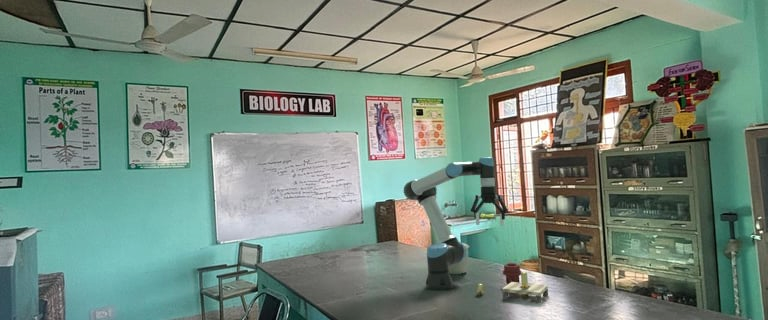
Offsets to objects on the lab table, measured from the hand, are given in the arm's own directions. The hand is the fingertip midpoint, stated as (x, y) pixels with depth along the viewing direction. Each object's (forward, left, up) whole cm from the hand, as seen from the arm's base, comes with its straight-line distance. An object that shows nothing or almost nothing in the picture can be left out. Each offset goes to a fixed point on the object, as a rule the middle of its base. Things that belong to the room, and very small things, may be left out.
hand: (489, 225), depth 229 cm
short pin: (-3, -12, -34) cm, 36 cm away
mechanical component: (+7, +9, -34) cm, 36 cm away
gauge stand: (+19, -8, -34) cm, 40 cm away
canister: (-35, +26, -34) cm, 56 cm away
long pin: (+19, -8, -34) cm, 40 cm away
